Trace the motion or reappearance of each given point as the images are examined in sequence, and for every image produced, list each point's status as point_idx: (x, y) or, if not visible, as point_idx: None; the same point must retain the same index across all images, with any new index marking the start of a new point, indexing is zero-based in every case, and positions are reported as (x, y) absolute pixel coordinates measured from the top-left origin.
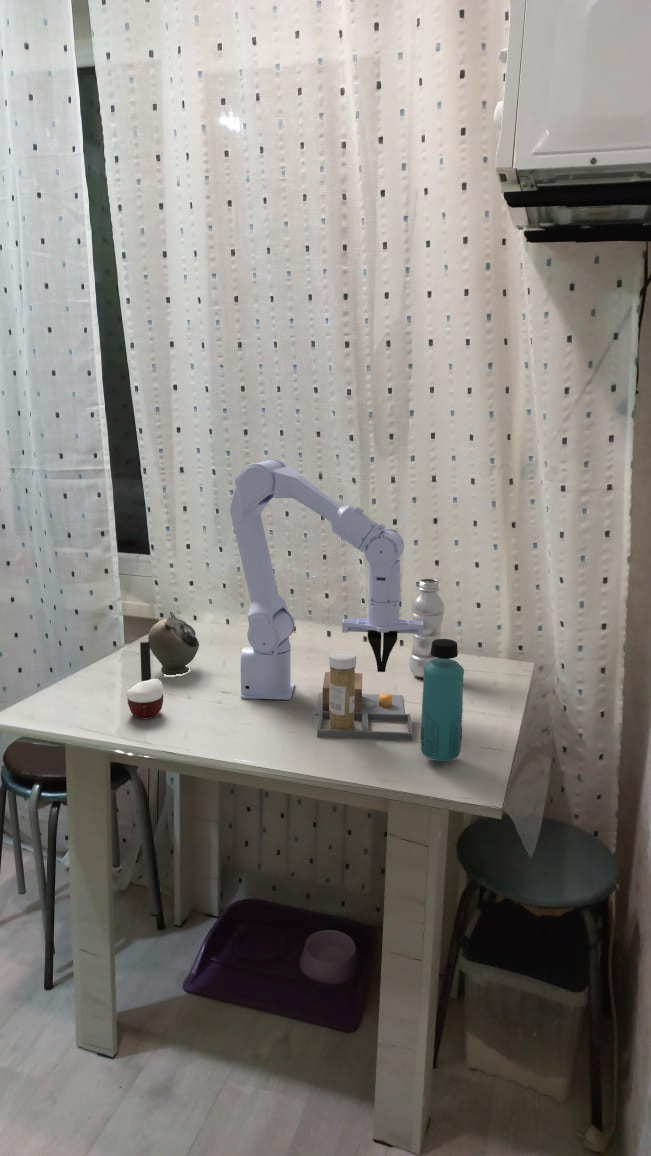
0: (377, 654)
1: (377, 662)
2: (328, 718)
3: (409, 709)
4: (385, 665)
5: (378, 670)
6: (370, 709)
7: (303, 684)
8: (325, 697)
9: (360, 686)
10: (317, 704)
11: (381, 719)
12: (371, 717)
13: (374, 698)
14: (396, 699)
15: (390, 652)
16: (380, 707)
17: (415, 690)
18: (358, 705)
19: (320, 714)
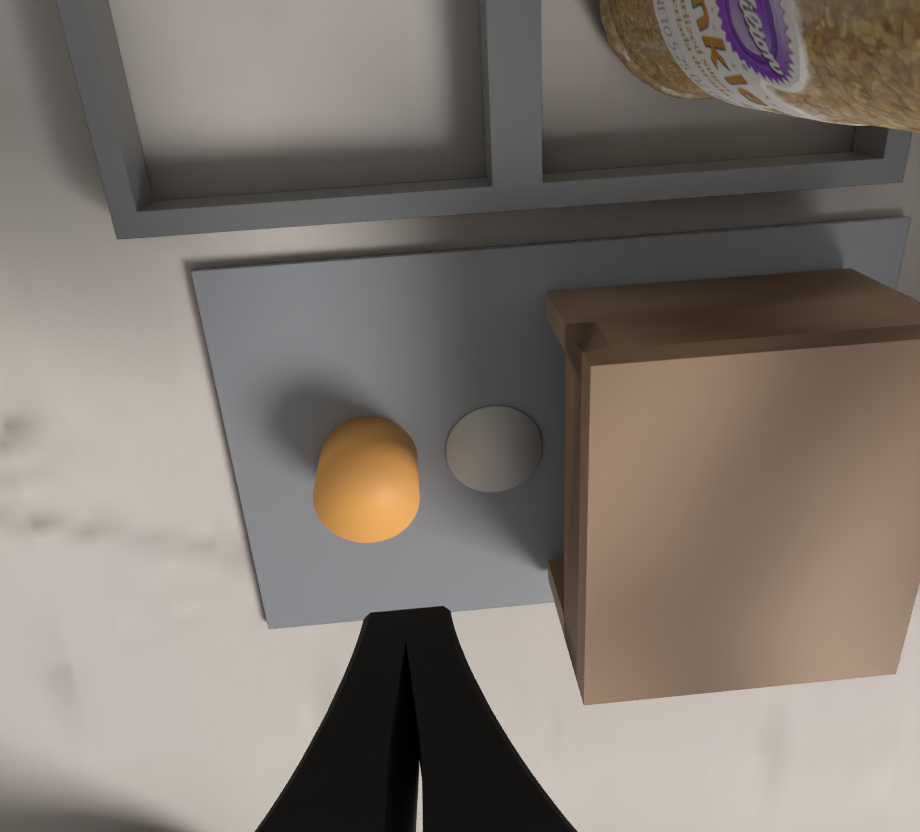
0: (474, 763)
1: (460, 674)
2: (806, 156)
3: (181, 432)
4: (355, 658)
5: (439, 613)
6: (474, 368)
7: (913, 675)
8: (895, 304)
9: (603, 432)
10: None
11: (371, 186)
12: (457, 181)
13: (456, 549)
14: (299, 561)
15: (265, 818)
16: (401, 414)
17: (196, 716)
18: (581, 307)
19: None
